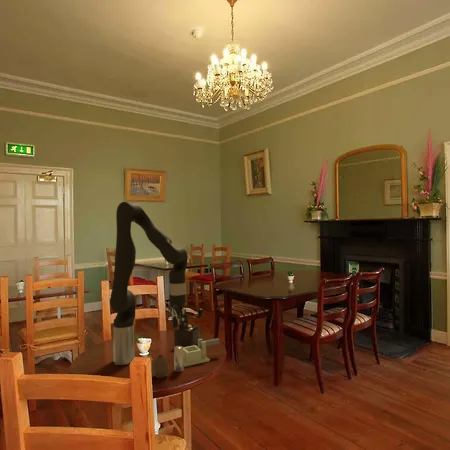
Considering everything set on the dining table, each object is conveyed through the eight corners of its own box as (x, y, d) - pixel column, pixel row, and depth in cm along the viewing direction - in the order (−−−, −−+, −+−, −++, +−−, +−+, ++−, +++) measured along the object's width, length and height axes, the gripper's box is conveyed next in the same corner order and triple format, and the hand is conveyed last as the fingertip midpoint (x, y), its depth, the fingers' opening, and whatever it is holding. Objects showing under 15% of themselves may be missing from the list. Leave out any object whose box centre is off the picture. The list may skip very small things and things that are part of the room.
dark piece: (192, 350, 182) (192, 315, 182) (173, 347, 187) (173, 313, 186) (205, 340, 197) (205, 307, 196) (188, 338, 201) (187, 306, 201)
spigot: (176, 372, 156) (175, 349, 156) (173, 369, 160) (172, 346, 160) (184, 370, 158) (184, 348, 158) (181, 367, 162) (181, 345, 162)
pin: (200, 347, 170) (200, 343, 170) (199, 345, 172) (198, 341, 172) (219, 343, 175) (219, 339, 175) (217, 342, 177) (217, 338, 177)
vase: (169, 372, 157) (169, 352, 156) (167, 379, 150) (167, 358, 150) (153, 373, 156) (153, 353, 156) (151, 380, 150) (150, 359, 149)
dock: (183, 366, 162) (183, 348, 162) (175, 359, 171) (175, 341, 171) (209, 361, 168) (209, 343, 168) (200, 354, 177) (200, 337, 177)
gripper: (191, 294, 154) (192, 332, 154) (179, 289, 166) (180, 324, 167) (175, 296, 150) (175, 335, 151) (164, 291, 163) (164, 326, 163)
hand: (178, 329), depth 159 cm, fingers open, 7 cm apart
